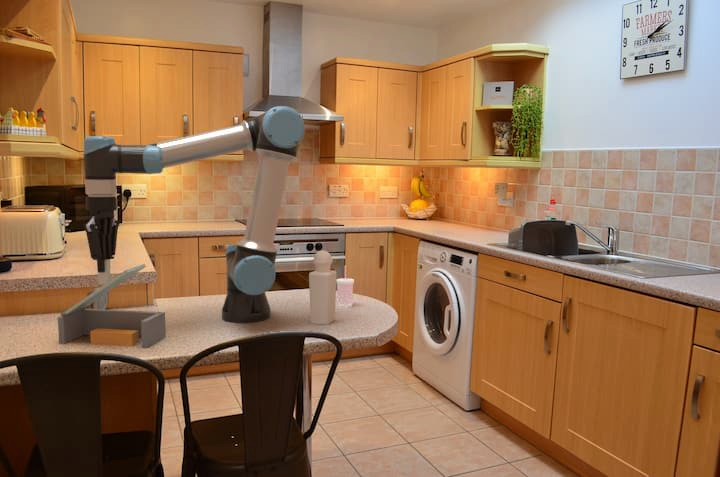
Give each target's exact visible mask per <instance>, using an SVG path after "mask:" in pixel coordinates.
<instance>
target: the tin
mask: <svg viewBox="0 0 720 477" xmlns="http://www.w3.org/2000/svg"><path fill="white" fill-rule="evenodd" d="M102 286H103V285H101V286H100V285H97V286H95V287H94V288H92V289H89V290H88V292H87V294H86V296H85V298H86V297H87V296H89V295H90V294H91V293H93V292H94V291H96V290H97V289H99V288H100V287H102ZM109 294H110V291H109V292H108V293H106V294H105V295H103V296H102V297H100V298H99V299H97V300H96V301H94V302H93V303H92V304H90V305H89V306H87V308H86V309H103V310H108V306H109V302H110V300H109Z"/></svg>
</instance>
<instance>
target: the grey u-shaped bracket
mask: <svg viewBox="0 0 720 477" xmlns="http://www.w3.org/2000/svg"><path fill="white" fill-rule="evenodd" d="M57 325H58V326H57V327H58V328H57V329H58V343H59V344H67V343H69V342H71V341H72V340H75V339H77V338H79V337H82V336H85V335H87V336H90V331H92V330H95V329H97V328H103V329H120V330H138V332H139V338H141V348H146V349H148V348H150V347H151V346H153V345H155V344H156V343H159V342H160V341H162V340H164V339H165V338H166V337H167V336H166V335H167V334H166V333H167V332H166V329H167V328H166V312H165V311H146V310H144V311H143V310H123V309H106V310H103V309H84V310H81V311H79V312H76V313H73V314H71V315H68V316H66V317H62V316H61V315H60V316H58V317H57Z"/></svg>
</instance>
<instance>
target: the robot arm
mask: <svg viewBox="0 0 720 477" xmlns="http://www.w3.org/2000/svg"><path fill="white" fill-rule="evenodd" d="M305 130H306V126H305V122H304V119H303V117H302V116H301V114H300V113H299V112H298V111H297V110H296V109H295V108H292V107H290V106H286V105H282V106H281V105H279V106H274V107H272V108H270V109H269V110H267V111H265V112H263V113H262V114H259V115H257V116H254V117H252V118H249V119H244V120H242V122H241V123H240V124H237V125H232V126H228V127H223V128H219V129H215V130H209V131H205V132H201V133H196V134H191V135H186V136H183V137H178V138H173V139H169V140H164V141H159V142H156V143H150V144H146V145H145V144H144V145H143V144H140V145H139V144H130V145H129V144H124V145H122V144H116V140H115V138H114V137H111V136H97V135H96V136H95V135H93V136H86V137H85V138H84V140H83V154H82V155H83V165H84V166H83V167H84V180H85V182H84V183H85V184H84V185H85V194H86V195H87V196H86V197H85V210H86V211H88V212H89V213H90V214H89V221H88V222H87V223H83V228H84V231H85V234H86V238H87V242H88V243H87V244H88V248H89V253H90V258H91V259H92V260H93V261H96V266H97V269H96V270H97V284H98V285H105V284H106V283H108V282H109V281H111V280H112V278H111V260H114V259H115V255H116V251H117V249H116V248H117V241H118V240H117V239H118V231H119V230H118V229H119V226H120V220H119V219H115V215H114V211H116V210H118V204H117V203H118V202H117V197H116V196H115V195H117V193H118V192H117V177H116V174H141V175H142V174H144V175H146V174H148V175H153V174H161V173H162V172H163V171H164V169H166V168H171V167H176V166H178V165H179V166H180V165H184V164H188V163H192V162H197V161H201V160H206V159H210V158H211V159H212V158H214V157H218V156H223V155H227V154H232V153H237V152H240V151H241V152H242V151H245V150H248V151H249V152H251V153H252V152H257V154H258V155H259V160H258V165H257V168H256V169H257V170H256V175H255V180H254V185H253V191H252V194H251V198H250V199H251V200H250V206H249V210H248V215H247V219H246V220H247V221H246V225H245V230H244V234H243V238H242V239H241V240H240V241H239V242H237V243H236V244H230V245H227V247H226V251H225V252H226V253H225V257H226V262H225V263H226V296H225V299H224V303H223V306H222V309H221V318H222V320H224V321H227V322H230V323H253V322H261V321H265V320H267V319H269V318H271V316H272V313H271V312H272V311H271V307H270V302H269V301H268V300H269V299H268V297H267V294H266V292H268V291H269V290H270V289H271V288H272V286H273V285H274V283H275V280H276V275H277V274H276V268H275V264H276V259H277V253H278V250H277V248H276V246H275V245H274V243H275V242H274V241H275V237H276V232H277V227H278V221H279V217H280V212H281V206H282V201H283V196H284V192H285V188H286V182H287V176H288V172H289V167H290V164H291V162H293V161H294V160H296V158H297V153H298V149H299V145H300V142H302V140H303V138H304V136H305V132H306V131H305Z"/></svg>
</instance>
